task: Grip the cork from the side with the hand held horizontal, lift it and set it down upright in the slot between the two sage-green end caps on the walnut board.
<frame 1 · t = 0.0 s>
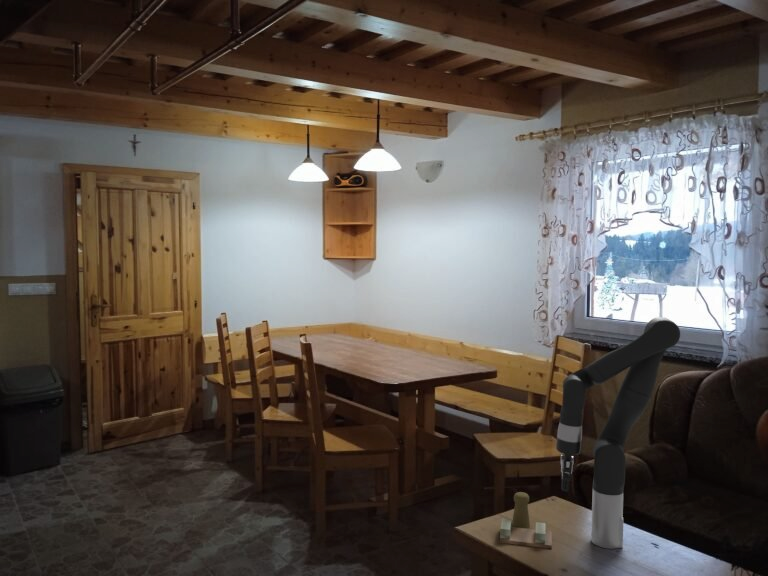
hand: (564, 485, 201), 17 cm above the table, tool pointing down, fingers open, 8 cm apart
endcap cradle: (522, 537, 201), on the table
cork: (520, 525, 211), on the table
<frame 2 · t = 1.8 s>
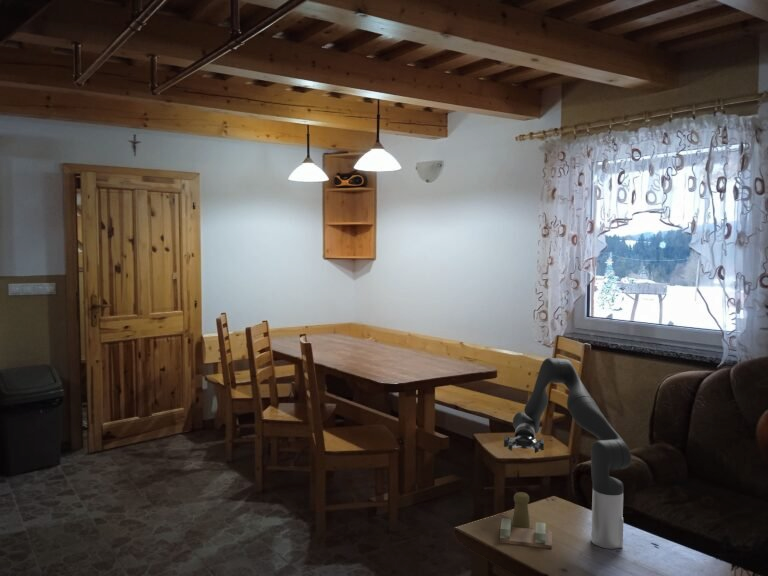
hand: (523, 449, 219), 23 cm above the table, tool horizontal, fingers open, 8 cm apart
nothing on the table moved.
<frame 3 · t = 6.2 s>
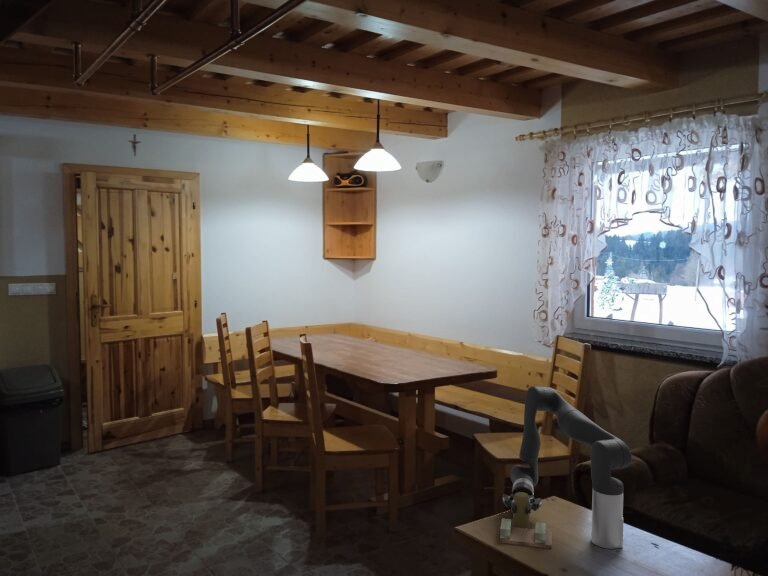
hand: (521, 511, 208), 6 cm above the table, tool horizontal, fingers closed on cork, 3 cm apart
cork: (520, 525, 211), on the table, touching gripper
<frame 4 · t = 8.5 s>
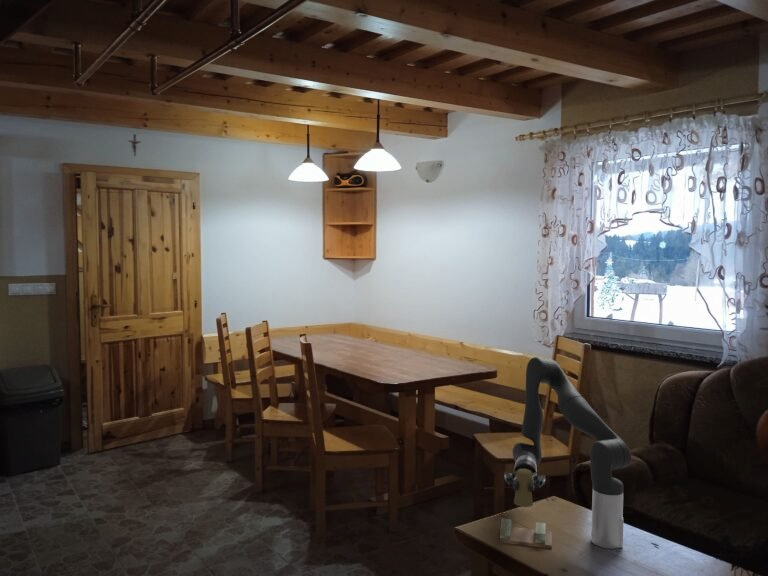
hand: (523, 488, 198), 18 cm above the table, tool horizontal, fingers closed on cork, 3 cm apart
cork: (523, 503, 201), point 11 cm above the table, touching gripper
when the fingers open (8 cm above the table, at t = 10.6 s): cork moves 1 cm, resting on endcap cradle.
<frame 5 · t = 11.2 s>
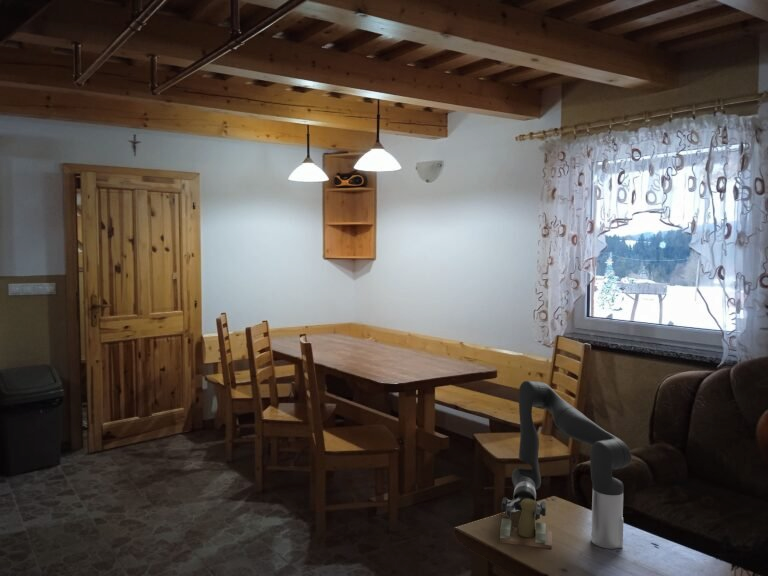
hand: (522, 515, 199), 8 cm above the table, tool horizontal, fingers open, 8 cm apart
cork: (526, 533, 202), point 1 cm above the table, touching endcap cradle, gripper
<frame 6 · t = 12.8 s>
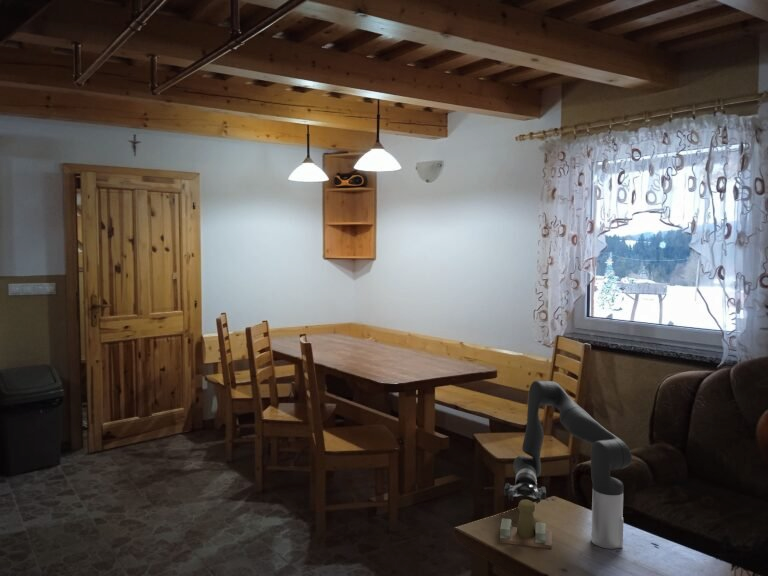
hand: (524, 499, 211), 8 cm above the table, tool horizontal, fingers open, 8 cm apart
cork: (526, 533, 202), point 1 cm above the table, touching endcap cradle
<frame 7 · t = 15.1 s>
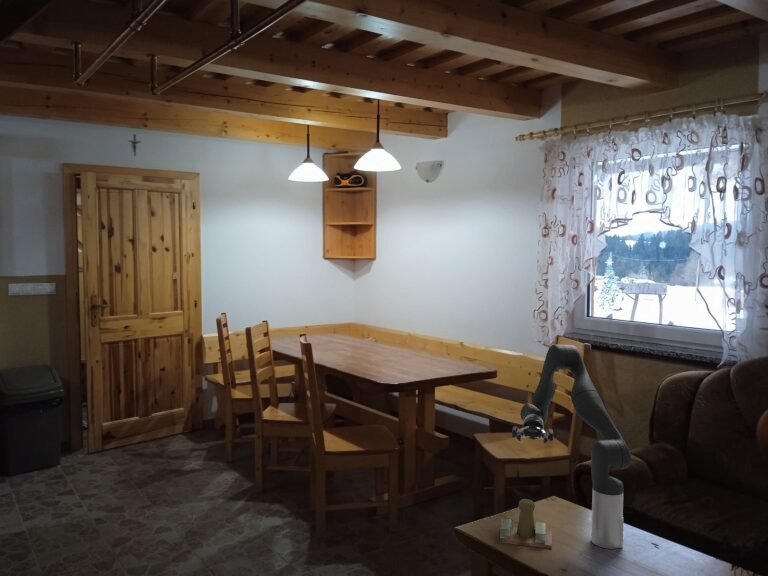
hand: (532, 439, 214), 28 cm above the table, tool horizontal, fingers open, 8 cm apart
at the end: cork 1.4 cm off-centre on the endcap cradle, point 0.9 cm above the endcap cradle's base; cork tilted 1°; the gripper is holding nothing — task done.
